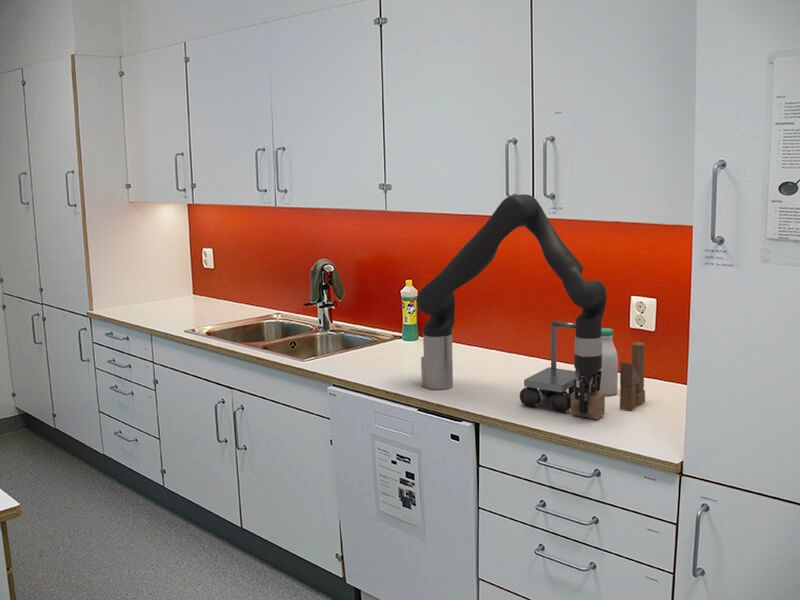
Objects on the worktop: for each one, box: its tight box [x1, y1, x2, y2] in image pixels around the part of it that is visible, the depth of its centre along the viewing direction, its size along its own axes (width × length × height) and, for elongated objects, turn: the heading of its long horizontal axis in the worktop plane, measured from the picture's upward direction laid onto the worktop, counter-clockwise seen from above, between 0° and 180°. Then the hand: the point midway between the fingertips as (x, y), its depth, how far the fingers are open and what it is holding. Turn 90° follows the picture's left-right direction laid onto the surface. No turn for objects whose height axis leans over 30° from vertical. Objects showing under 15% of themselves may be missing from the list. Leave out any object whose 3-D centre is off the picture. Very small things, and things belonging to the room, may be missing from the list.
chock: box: [570, 392, 606, 420], centre depth 239 cm, size 8×5×6 cm, turn 54°
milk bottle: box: [597, 327, 619, 397], centre depth 260 cm, size 8×8×20 cm
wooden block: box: [619, 341, 646, 412], centre depth 247 cm, size 4×11×18 cm, turn 143°
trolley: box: [519, 320, 587, 414], centre depth 250 cm, size 16×16×23 cm
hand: (587, 410), depth 239 cm, fingers open, 5 cm apart
